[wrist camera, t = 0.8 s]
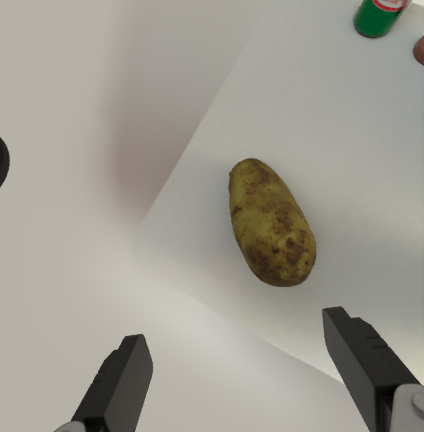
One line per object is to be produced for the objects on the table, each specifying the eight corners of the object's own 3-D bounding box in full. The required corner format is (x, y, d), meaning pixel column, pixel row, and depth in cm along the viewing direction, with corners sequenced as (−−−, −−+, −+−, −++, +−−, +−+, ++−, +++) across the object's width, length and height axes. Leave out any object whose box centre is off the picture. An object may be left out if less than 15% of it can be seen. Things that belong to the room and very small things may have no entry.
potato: (299, 173, 29) (330, 138, 21) (297, 286, 26) (332, 293, 18) (228, 168, 29) (234, 130, 21) (219, 278, 26) (221, 282, 19)
